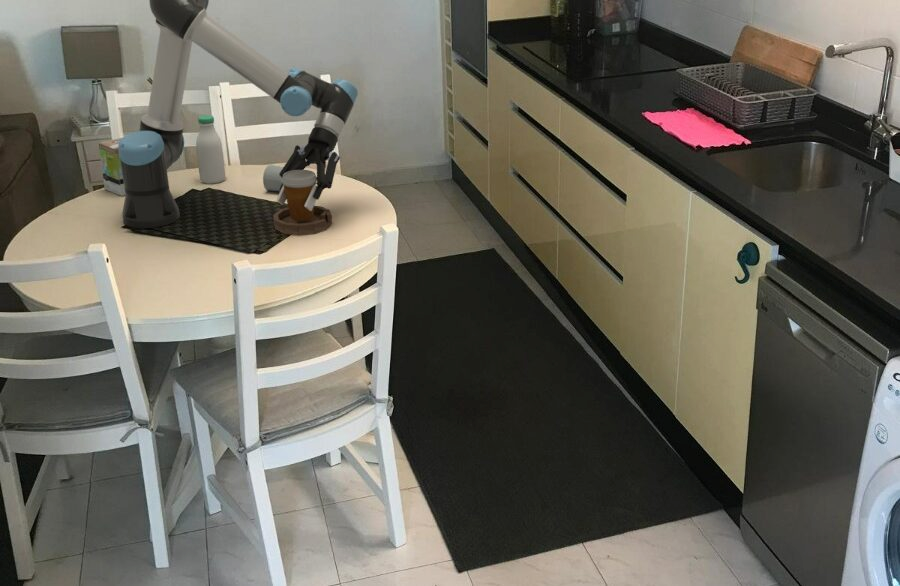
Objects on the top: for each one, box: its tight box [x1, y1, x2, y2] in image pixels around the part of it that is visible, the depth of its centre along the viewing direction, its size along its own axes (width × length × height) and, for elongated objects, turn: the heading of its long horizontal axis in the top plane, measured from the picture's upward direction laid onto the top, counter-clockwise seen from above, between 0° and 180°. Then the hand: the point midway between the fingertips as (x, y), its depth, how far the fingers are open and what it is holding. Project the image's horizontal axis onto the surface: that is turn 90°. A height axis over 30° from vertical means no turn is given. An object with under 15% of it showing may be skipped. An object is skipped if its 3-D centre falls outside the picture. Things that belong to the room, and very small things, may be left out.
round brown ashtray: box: [272, 205, 333, 236], centre depth 262 cm, size 15×15×3 cm
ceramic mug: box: [262, 164, 284, 192], centre depth 288 cm, size 11×8×8 cm
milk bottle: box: [195, 114, 226, 185], centre depth 293 cm, size 8×8×20 cm
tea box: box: [98, 137, 126, 197], centre depth 289 cm, size 15×10×15 cm, turn 138°
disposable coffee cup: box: [281, 169, 317, 221], centre depth 259 cm, size 10×10×12 cm
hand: (293, 205), depth 257 cm, fingers closed on disposable coffee cup, 9 cm apart
